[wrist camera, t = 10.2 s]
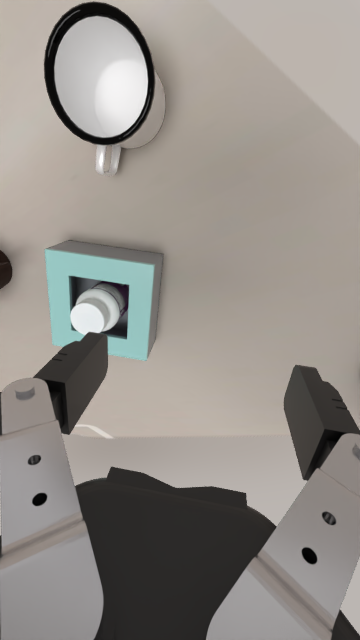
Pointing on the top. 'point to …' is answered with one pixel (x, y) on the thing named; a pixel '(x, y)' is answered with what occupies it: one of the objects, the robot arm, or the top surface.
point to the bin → (113, 266)
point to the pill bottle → (100, 307)
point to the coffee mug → (4, 270)
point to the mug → (103, 80)
